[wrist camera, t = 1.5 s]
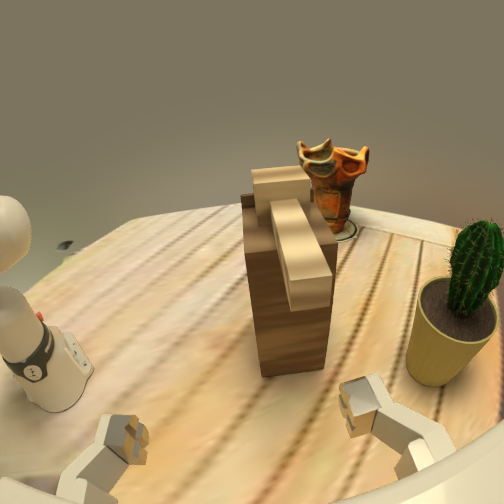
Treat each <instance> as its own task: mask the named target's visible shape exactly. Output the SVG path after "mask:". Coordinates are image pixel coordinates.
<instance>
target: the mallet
mask: <svg viewBox="0 0 504 504" xmlns="http://www.w3.org/2000/svg"><path fill="white" fill-rule="evenodd" d="M252 180H253V189H254V199H255V208H256V215H257V222H258V227H261V226H270V225H272V230H273V234H274V238H275V243H276V247H277V251H278V256H279V260H280V265H281V269H282V274H283V278H284V283H285V287H286V292H287V296H288V301H289V305H290V310H291V312H292V311H300V310H307V309H315V308H322V307H328V306H330V297H331V287H332V276H333V275H332V273H331V271H330V268H329V266H328V264H327V262H326V259H325V257H324V255H323V253H322V250H321V248H320V246H319V244H318V242H317V240H316V237H315V235H314V233H313V231H312V229H311V227H310V225H309V221H310V179H309V177H308V176H307V174H306V173H305V171H304V170H303V169H302V167H301V166H289V167H277V168H266V169H256V170H252Z"/></svg>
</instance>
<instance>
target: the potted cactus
mask: <svg viewBox="0 0 504 504" xmlns="http://www.w3.org/2000/svg"><path fill="white" fill-rule="evenodd" d="M491 221H492V220H491ZM458 231H459V230H458ZM458 231H457V234H458ZM455 236H456V235H455ZM456 238H457V239H455V240H456V243H455V246H454V249H453V250H452V251H453V252H451V253H452V254H451V255H452V256H451V258H450V262H449V263H450V264H451V268H452V273H451V272H450V273H451V274H452V276H451V275H450V276H448V275H449V274H448V275H447V276H439V277H435V278H432V279H430V280H428V281H427V282H426V283H424V285H423V286H422V287H421V289H420V291H419V294H418V300H417V306H416V312H415V318H414V323H413V328H412V333H411V338H410V342H409V346H408V351H407V355H406V365H407V369H408V371H409V373H410V374H411V376H412V377H413V378H414V379H415V380H416V381H418V382H419V383H421V384H423V385H426V386H430V387H438V386H442V385H444V384H446V383H448V382H449V381H451V380H452V379H453V378H454V377H455V376H456V375H457V374H458V373H459V372H460V371H461V370H462V369H463V368H464V367H465V366H466V365H467V364H468V363H469V362H470V361H471V359H472V358H473V357H474V356H475V355H476V354H477V353H478V352H479V351H480V350H481V349H482V347H483V346H484V345H485V344H486V343H487V342H488V341H489V339H490V338H491V337H492V336H493V335H494V333H495V332H496V330H497V327H498V324H499V315H498V310H497V308H496V305H495V303H494V302H493V300H492V299H491V298H492V297H490V296H491V295H490V296H489V293H490V292H492V291H493V289H495V287H497V286H498V285H499V280H500V278H501V274H502V272H503V268H504V239H503V237H502V232H501V229H500V228H499V227H498V225H497V224H496V223H493V224H491V223H490V224H489V223H488V221H487V222H486V221H478V222H477V223H473V225H469V226H467V228H465V229H464V230H463V231H462V230H461V232H460V233H459V234H458V236H457V237H456ZM447 249H448V248H447ZM448 250H450V249H448ZM450 251H451V250H450ZM448 254H449V253H448ZM449 256H450V255H449ZM445 260H446V259H445ZM448 261H449V260H448ZM449 263H448V264H449ZM449 266H450V265H449ZM449 271H451V270H448V272H449ZM492 293H493V292H492ZM493 296H494V295H493Z"/></svg>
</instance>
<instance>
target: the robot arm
mask: <svg viewBox="0 0 504 504" xmlns="http://www.w3.org/2000/svg"><path fill="white" fill-rule="evenodd" d="M31 235H32V232H31V224H30V220H29V217H28V215H27V212H26V211H25V209H24V208H23V206H22V205H21V204H20V203H19V202H18V201H16V200H15V199H14V198H12V197H10V196H0V273H2V272H4V271H6V270H8V269H9V268H11V267H12V266H13V265H14V264H15V263H17V262H18V261H19V260H20V259H21V258H23V257H24V256H25V255H26V254H27V253H28V251H29V248H30V244H31ZM42 321H43V316H42V314H41V313H40V312H38V313H37V314H35V313H34V311H33V310H32V308H31V306H30V305H29V303H28V301H27V300H26V298H25V297H24V295H23V294H22V293H20V292H19V291H18V290H16V289H14V288H11V287H5V286H0V354H1V355H2V357H3V360H4V362H5V363H6V365H7V366H8V367H9V368H10V369H11V370H12V371H13V373H14V375H13V376H14V378H15V380H16V381H17V382H18V383H19V385H20V386H21V387H22V388H23V389H24V391H25V392H26V393H27V399H28V400H29V401H30V402H31V403H35V404H38V405H39V406H40V407H41V408H43V409H44V410H46V411H49V412H60V411H63V410H66V409H68V408H69V407H71V406H72V405H73V404H74V403H75V402H76V401H77V400H78V399H79V397H80V396H81V394H82V392H83V390H84V387H85V384H86V381H87V379H88V378H89V376H90V375H91V374H92V372H93V369H94V368H93V366H92V364H91V363H90V361H89V360H88V358H87V357H86V355H85V353H84V352H83V350H82V349H81V347H80V345H79V344H78V342H77V340H76V339H75V337H74V335H73V334H72V333H70V332H67V333H61V331H60V330H59V329H58V327H56V326H49V327H47V326H46V325H45V324H44V323H43V322H42ZM339 391H340V393H341V394H340V395H339V406H340V410H341V413H342V416H343V417H344V418H346V427H347V430H348V433H349V436H350V438H354V437H358V436H361V435H364V434H367V433H371V434H373V435H374V436H375V437H377V438H378V439H380V440H381V441H382V442H384V443H385V444H386V445H388V446H389V447H391V448H392V449H393V450H395V451H396V452H398V453H399V454H401V455H402V457H401V458H400V460H399V461H398V463H397V465H396V466H395V468H394V470H395V472H396V475H397V477H398V481H395V482H393V483H390V484H388V485H385V486H383V487H380V488H377V489H374V490H372V491H369V492H366V493H363V494H360V495H357V496H354V497H350V498H347V499H344V500H340V501H337V502H333V503H329V504H504V419H503V420H502V421H501V422H499V423H498V424H497V425H495V426H494V427H492V428H491V429H490V430H488V431H487V432H485V433H484V434H482V435H481V436H480V437H478V438H477V439H475V440H473V441H472V442H470V443H469V444H467V445H466V446H464V447H462V448H461V449H459V450H456V449H455V447H454V445H453V443H452V441H451V439H450V437H449V435H448V434H447V432H446V430H445V428H444V426H443V425H441V424H439V423H437V422H435V421H433V420H431V419H429V418H427V417H425V416H423V415H421V414H419V413H417V412H415V411H413V410H411V409H410V408H408V407H406V406H404V405H402V404H400V403H398V402H397V403H394V402H393V400H392V398H391V396H390V394H389V392H388V390H387V388H386V387H385V385H384V383H383V381H382V379H381V377H380V375H379V374H378V373H373V374H370V375H367V376H363V377H360V378H357V379H354V380H351V381H348V382H344V383H341V384H340V385H339ZM138 421H139V419H138V418H137V417H136V415H114V414H103V415H102V416H101V418H100V422H99V425H98V429H97V432H96V436H95V440H94V443H93V444H90V445H89V446H88V447H87V448H86V449H85V450H84V451H83V452H82V453H81V454H80V455H79V456H78V457H77V458H76V459H75V460H74V461H73V462H72V463H71V464H70V465H69V466H68V467H67V468H66V469H65V470H64V471H63V472H62V473H61V476H60V480H59V484H58V488H57V492H56V496H55V495H52V494H49V493H46V492H43V491H41V490H38V489H35V488H33V487H30V486H28V485H25V484H23V483H21V482H18V481H16V480H14V479H12V478H9V477H2V478H0V504H118V500H117V499H116V498H115V497H113V496H111V495H110V494H108V493H109V492H110V491H111V489H112V488H113V487H114V485H115V484H116V483H117V481H118V480H119V478H120V477H121V476H122V474H123V473H124V472H125V470H126V469H127V467H128V466H129V465H146V458H147V451H146V450H145V447H146V446H147V445H148V444H149V434H148V430H147V428H146V427H145V426H144V425H143V424H141V423H139V422H138Z"/></svg>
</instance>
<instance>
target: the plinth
mask: <svg viewBox="0 0 504 504" xmlns="http://www.w3.org/2000/svg"><path fill="white" fill-rule="evenodd" d="M241 204H242V216H243V236H244V254H245V261H246V269H247V276H248V283H249V290H250V298H251V305H252V312H253V319H254V326H255V333H256V340H257V347H258V354H259V361H260V368H261V375H262V377H269V376H278V375H286V374H293V373H301V372H307V371H314V370H320V369H324V364H325V357H326V351H327V344H328V337H329V329H330V321H331V313H332V305H333V295H334V286H335V275H336V264H337V251H338V242H337V240H336V239H335V237H334V235H333V233H332V232H331V230H330V228H329V226H328V225H327V223H326V221H325V219H324V218H323V216H322V214H321V213H320V211H319V209H318V208H317V206H316V204H315V203H314V189H313V188H310V221H309V225H310V227H311V229H312V231H313V233H314V235H315V237H316V240H317V242H318V244H319V246H320V248H321V250H322V253H323V255H324V257H325V259H326V262H327V264H328V266H329V268H330V271H331V273H332V275H333V276H332V287H331V297H330V306H328V307H322V308H315V309H307V310H300V311H292V312H291V310H290V305H289V301H288V296H287V292H286V287H285V283H284V278H283V274H282V269H281V265H280V260H279V256H278V251H277V247H276V243H275V238H274V234H273V230H272V225H270V226H261V227H258V222H257V215H256V208H255V199H254V193H252V194H244V195H241Z"/></svg>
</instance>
